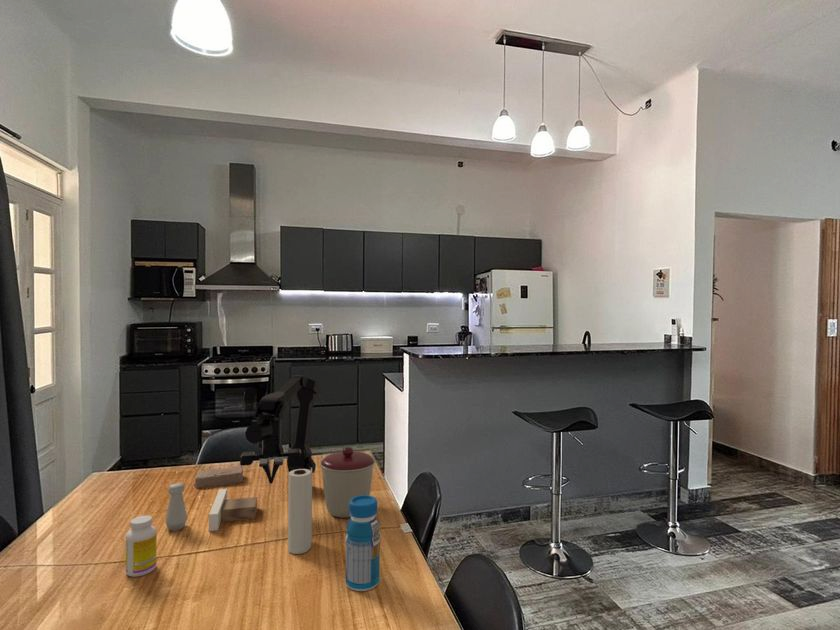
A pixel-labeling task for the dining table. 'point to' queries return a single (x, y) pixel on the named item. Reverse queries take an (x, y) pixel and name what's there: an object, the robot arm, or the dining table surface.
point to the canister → (345, 479)
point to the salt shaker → (176, 508)
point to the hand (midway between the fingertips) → (271, 483)
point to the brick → (219, 477)
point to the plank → (217, 510)
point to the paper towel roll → (300, 511)
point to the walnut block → (239, 509)
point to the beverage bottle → (362, 544)
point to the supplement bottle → (140, 547)
